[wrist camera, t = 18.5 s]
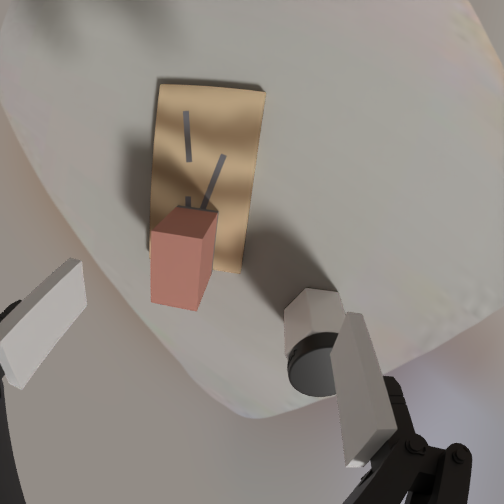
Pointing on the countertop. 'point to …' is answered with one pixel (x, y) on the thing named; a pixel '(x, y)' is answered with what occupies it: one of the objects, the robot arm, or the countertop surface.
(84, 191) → the countertop surface
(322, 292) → the jar
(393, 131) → the countertop surface
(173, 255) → the block
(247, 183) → the board
